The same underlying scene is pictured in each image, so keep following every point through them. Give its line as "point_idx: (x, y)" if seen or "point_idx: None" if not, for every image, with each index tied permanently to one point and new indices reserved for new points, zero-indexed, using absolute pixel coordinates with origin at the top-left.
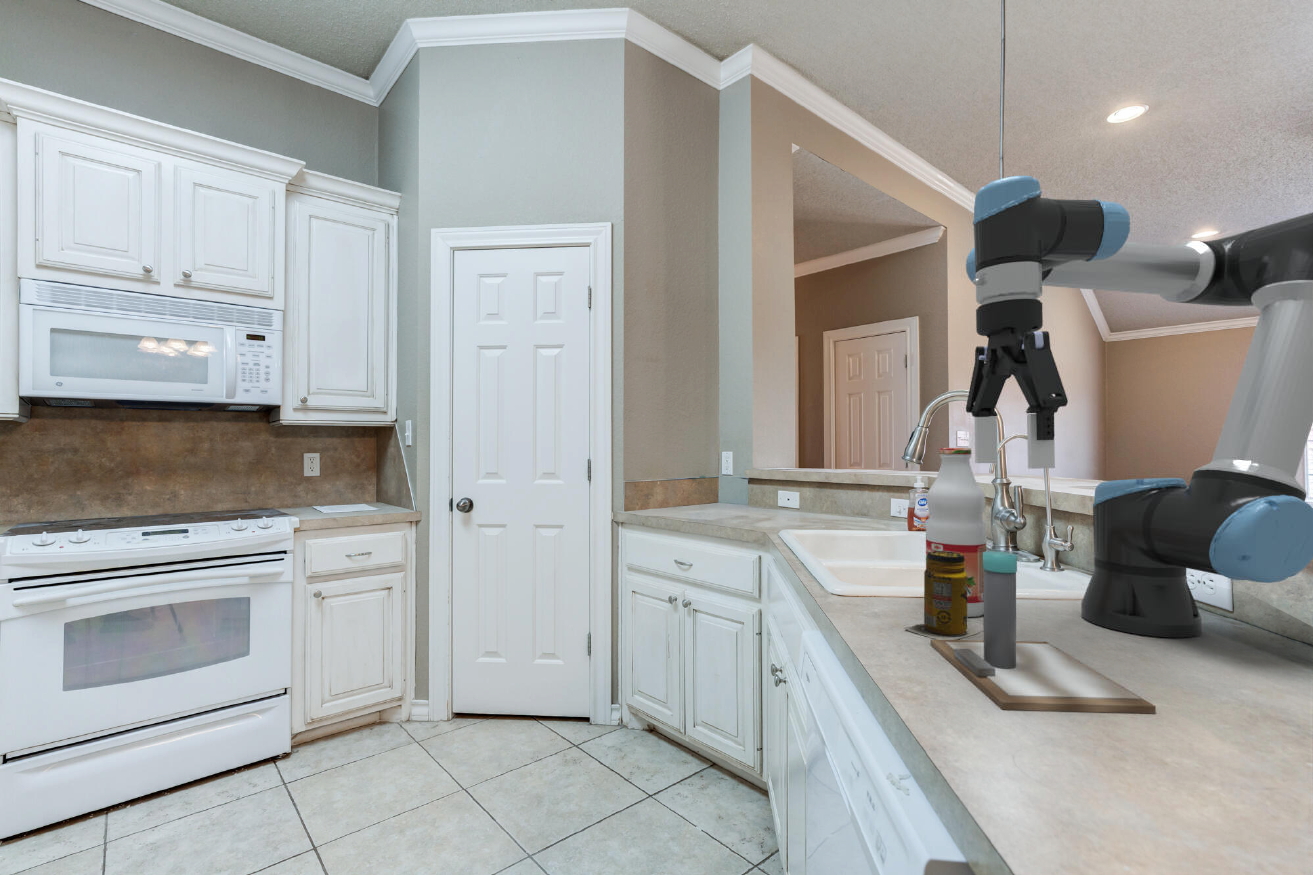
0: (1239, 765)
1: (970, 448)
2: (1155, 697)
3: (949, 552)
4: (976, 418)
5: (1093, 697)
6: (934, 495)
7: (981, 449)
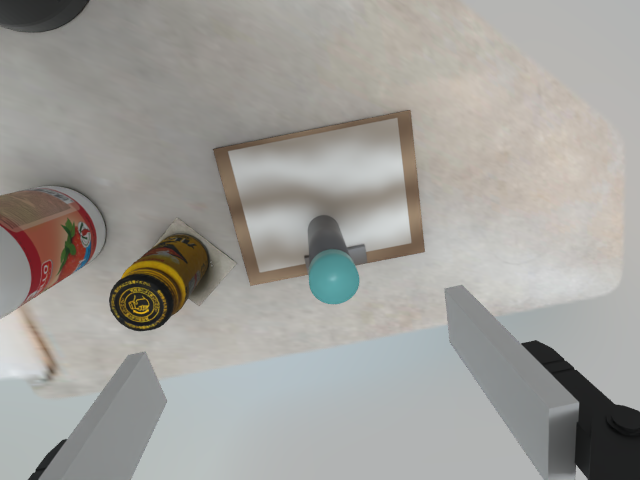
0: (504, 92)
1: None
2: (362, 87)
3: (118, 297)
4: None
5: (402, 165)
6: None
7: (144, 427)
